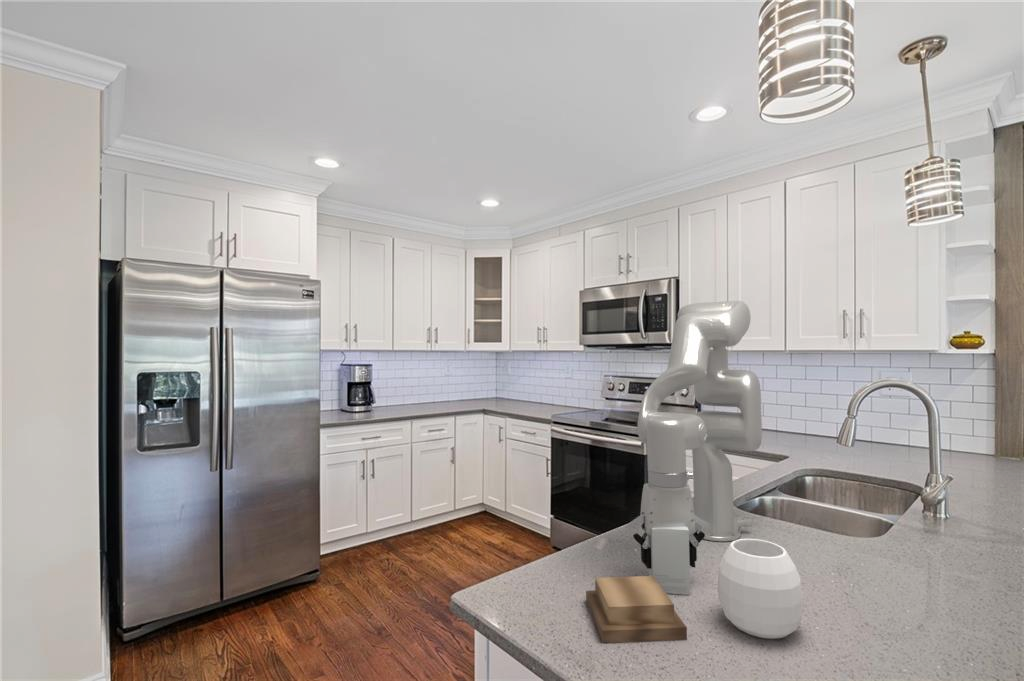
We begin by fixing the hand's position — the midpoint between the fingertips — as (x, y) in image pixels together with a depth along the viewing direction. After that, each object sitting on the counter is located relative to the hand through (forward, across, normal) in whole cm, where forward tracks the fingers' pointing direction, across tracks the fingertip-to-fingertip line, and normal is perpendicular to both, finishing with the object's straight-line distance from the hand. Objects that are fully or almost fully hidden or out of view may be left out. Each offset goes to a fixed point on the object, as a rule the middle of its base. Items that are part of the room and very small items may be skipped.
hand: (668, 565), depth 102 cm
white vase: (+4, -10, +16) cm, 19 cm away
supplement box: (+4, 0, 0) cm, 4 cm away
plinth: (+4, +11, +12) cm, 17 cm away
